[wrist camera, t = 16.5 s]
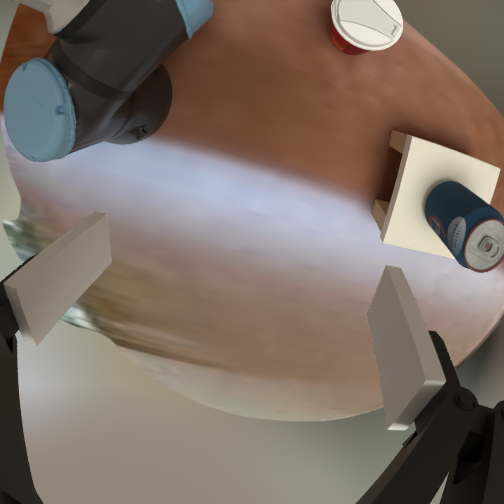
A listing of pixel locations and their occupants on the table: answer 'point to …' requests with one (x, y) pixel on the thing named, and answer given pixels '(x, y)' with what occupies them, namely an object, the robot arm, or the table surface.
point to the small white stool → (426, 190)
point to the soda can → (466, 226)
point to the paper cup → (365, 25)
